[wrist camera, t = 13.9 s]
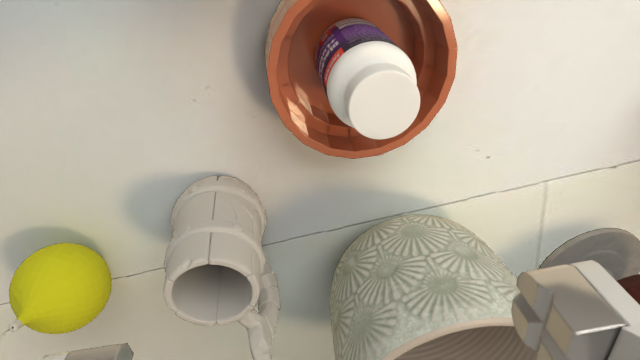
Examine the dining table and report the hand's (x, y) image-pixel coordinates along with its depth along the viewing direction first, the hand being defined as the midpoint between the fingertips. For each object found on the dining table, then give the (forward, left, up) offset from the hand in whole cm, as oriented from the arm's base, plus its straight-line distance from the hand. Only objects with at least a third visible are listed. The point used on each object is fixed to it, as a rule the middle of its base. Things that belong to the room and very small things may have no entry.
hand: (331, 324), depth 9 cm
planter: (+23, +9, -26) cm, 36 cm away
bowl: (+2, +5, -25) cm, 26 cm away
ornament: (+17, -20, -26) cm, 37 cm away
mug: (+16, -6, -26) cm, 31 cm away
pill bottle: (+2, +5, -25) cm, 26 cm away
